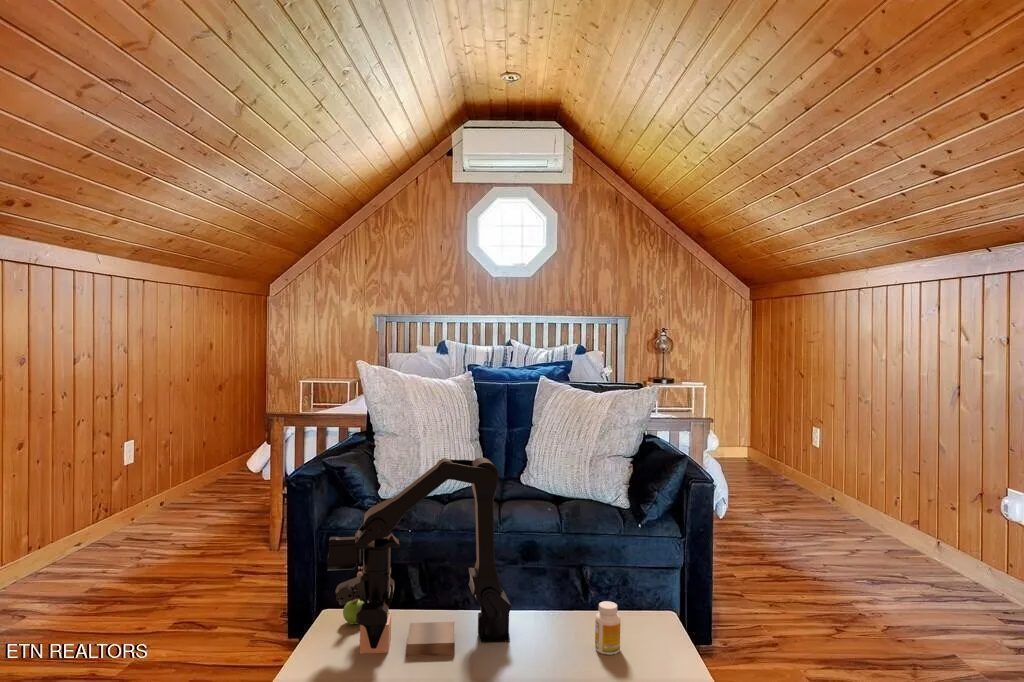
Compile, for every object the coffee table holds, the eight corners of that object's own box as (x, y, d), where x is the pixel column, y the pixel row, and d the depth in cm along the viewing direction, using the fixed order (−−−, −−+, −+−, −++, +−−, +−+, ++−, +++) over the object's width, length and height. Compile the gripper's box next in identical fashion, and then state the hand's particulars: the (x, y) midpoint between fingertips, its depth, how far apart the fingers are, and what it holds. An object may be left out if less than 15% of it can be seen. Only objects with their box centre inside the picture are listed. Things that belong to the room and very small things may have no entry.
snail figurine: (371, 616, 154) (371, 566, 154) (362, 628, 147) (363, 576, 147) (349, 615, 154) (349, 565, 154) (339, 627, 148) (340, 575, 148)
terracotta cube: (391, 639, 143) (391, 612, 143) (388, 652, 137) (388, 624, 137) (363, 640, 142) (363, 613, 142) (359, 653, 136) (360, 625, 136)
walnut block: (454, 634, 146) (454, 621, 146) (454, 656, 136) (454, 642, 136) (409, 636, 145) (410, 623, 145) (406, 658, 135) (407, 644, 135)
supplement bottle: (624, 649, 139) (625, 604, 139) (610, 658, 136) (611, 612, 135) (604, 641, 143) (605, 597, 143) (589, 649, 139) (590, 604, 139)
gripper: (345, 553, 148) (344, 620, 148) (330, 584, 129) (330, 662, 129) (394, 552, 149) (393, 619, 149) (387, 583, 130) (386, 660, 130)
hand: (375, 638), depth 139 cm, fingers open, 8 cm apart
